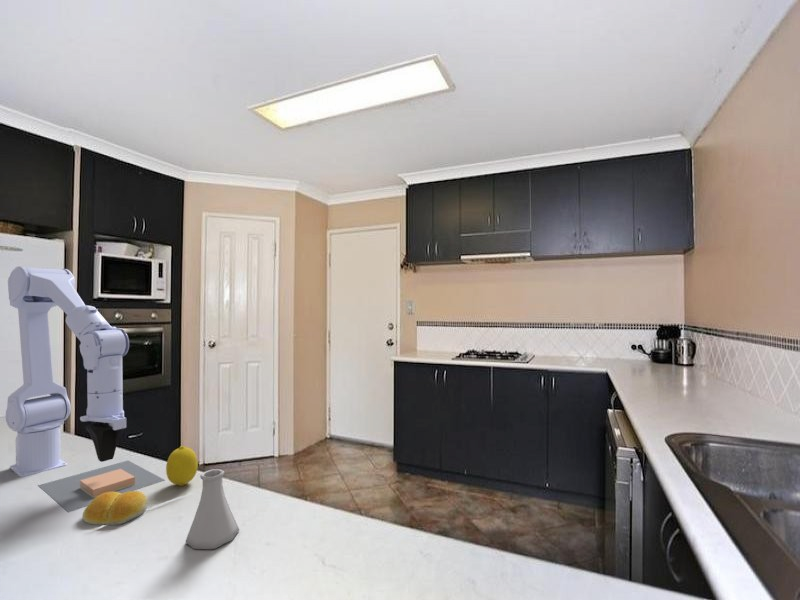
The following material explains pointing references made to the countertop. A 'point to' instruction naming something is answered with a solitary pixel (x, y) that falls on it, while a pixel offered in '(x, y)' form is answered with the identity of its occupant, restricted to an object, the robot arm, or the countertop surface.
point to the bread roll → (115, 508)
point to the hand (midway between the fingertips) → (105, 459)
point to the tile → (107, 482)
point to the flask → (212, 515)
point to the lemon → (181, 466)
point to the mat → (69, 487)
